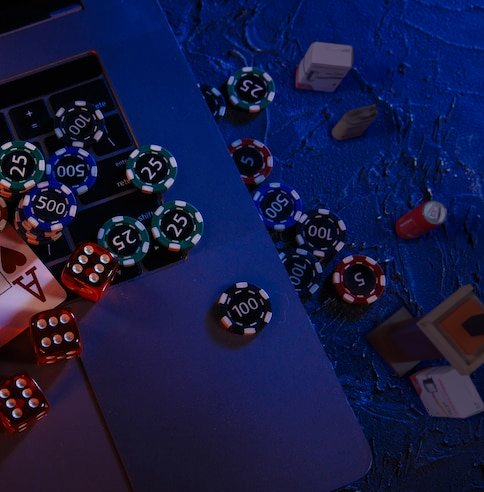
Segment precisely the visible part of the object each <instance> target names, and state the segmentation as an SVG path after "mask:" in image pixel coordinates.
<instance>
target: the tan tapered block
mask: <svg viewBox="0 0 484 492" xmlns="http://www.w3.org/2000/svg"><path fill="white" fill-rule="evenodd" d="M376 107H377V104H376V103H372V105H366V106H362V107H357V108H353V109H349V110H347V112H345V113H344V114H343V116H342V117H341V118H340V119H339V121H338V122H337V123H336V125H334V126H333V128H332V130H331V136H332V137H333V138H334V139H336V140H337V141H343V140H348V139H351V138H355V137H359V136H361V135H362V134H363V133H364V132H365V131H366V130H367V128H369V127H370V125H371V124H372V123H373V122H375V120H376V118H377V117H378V114H379V110H378V109H377V108H376Z"/></svg>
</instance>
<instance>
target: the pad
mask: <svg viewBox="0 0 484 492" xmlns="http://www.w3.org/2000/svg"><path fill="white" fill-rule="evenodd" d="M439 324H440V325H441V326H442V327H443V328H444V329H445V331H446V332H447V333H448V334H449V335H450V336H451V337H452V339H453V340H454V341H455V342H456V343H457V344H458V346H459V347H460V348H461V349H462V350H463V351H464V352H465V354H466V355H471V354H473V353H474V352H475V351H476V350H477V349H479V348H480V347H481V346H482V345H483V344H484V312H483V311H482V309H481V308H480V307H479V306H478V305H477V304H476V303H475V302H474V300H473V299H472V298H471V299H468V300H466V301H465V302H464V303H463V304H461V305H460V306H459V307H458V308H457V309H455V310H454V311H453V312H452V313H451V314H449V315H448V316H447V317H446V318H444V319H443V320H442V321H441V322H440V323H439Z"/></svg>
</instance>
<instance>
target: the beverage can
mask: <svg viewBox="0 0 484 492" xmlns="http://www.w3.org/2000/svg"><path fill="white" fill-rule="evenodd" d="M445 206H446V205H444V204H443V203H442V202H440V201H438V200H427V201H424V202H423V203H421V204H419V205H417V206H416V207H414V208H413V209H411V210H410V211H408V212H407V213H405V214H403V215H401V217H399V218H398V219H397V221H396V223H395V233H396V234H397V236H398V237H400V238H401V239H404V240H407V241H408V240H409V241H411V240H416V239H417V238H419V237H421V236H423V235H425V234H427V233H429V232H430V231H432V230H434V229H436V228H438V227H440V226H441V225H443V224H445V221H446V219H447V217H448V211H447V208H446V207H445Z"/></svg>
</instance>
